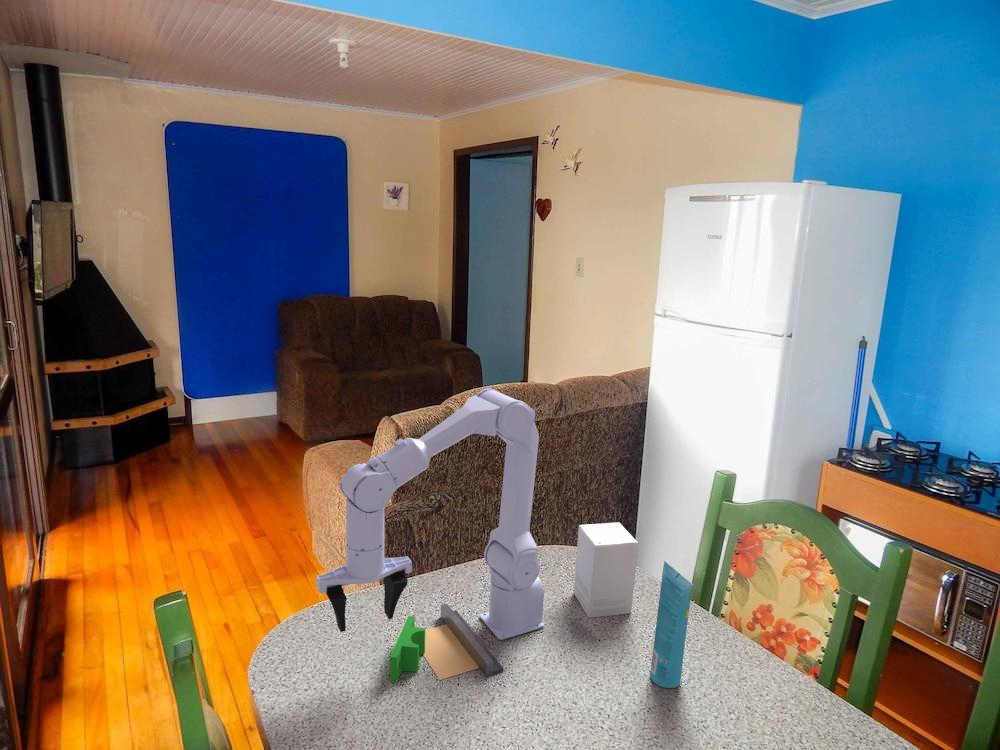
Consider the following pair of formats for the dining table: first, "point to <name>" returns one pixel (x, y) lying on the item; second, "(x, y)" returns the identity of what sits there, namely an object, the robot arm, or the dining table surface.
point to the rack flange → (457, 648)
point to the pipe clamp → (407, 649)
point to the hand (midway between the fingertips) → (365, 621)
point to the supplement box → (605, 569)
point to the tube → (670, 628)
